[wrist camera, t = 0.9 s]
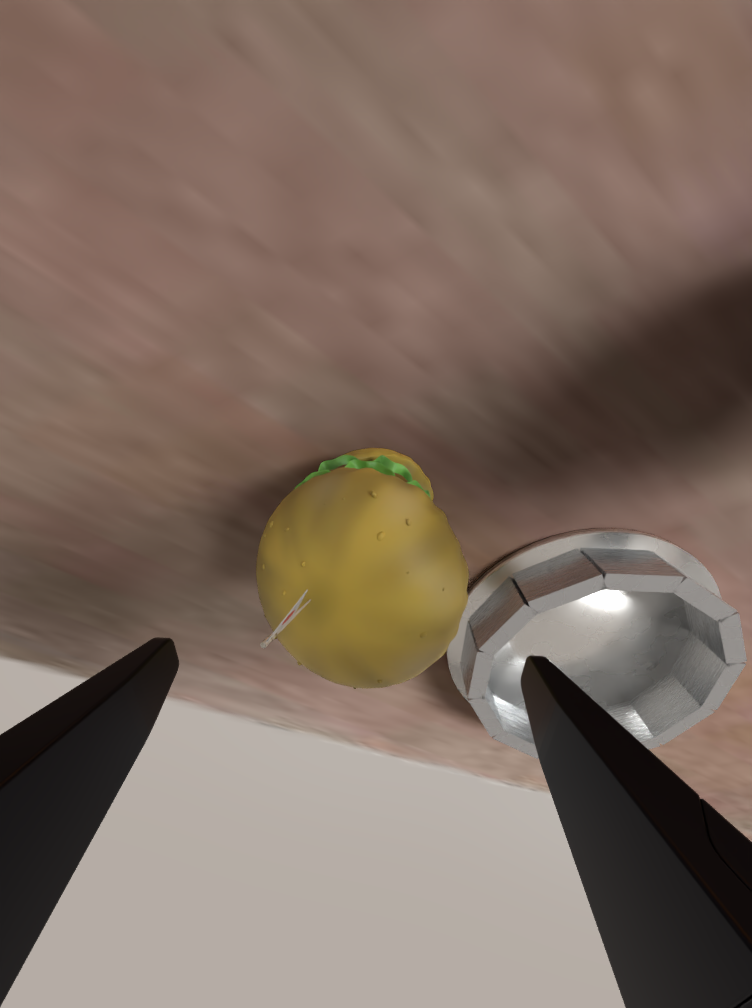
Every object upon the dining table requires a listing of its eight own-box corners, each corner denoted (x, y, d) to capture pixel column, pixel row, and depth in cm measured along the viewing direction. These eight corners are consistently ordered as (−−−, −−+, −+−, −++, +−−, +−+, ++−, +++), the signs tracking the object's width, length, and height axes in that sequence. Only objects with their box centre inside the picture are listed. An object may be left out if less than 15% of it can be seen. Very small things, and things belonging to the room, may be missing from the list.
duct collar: (765, 533, 19) (830, 564, 17) (657, 730, 26) (690, 775, 24) (463, 522, 20) (476, 550, 17) (434, 719, 27) (440, 763, 24)
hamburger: (383, 572, 21) (381, 807, 10) (278, 513, 20) (145, 714, 9) (462, 473, 19) (573, 648, 8) (347, 396, 17) (278, 475, 6)
